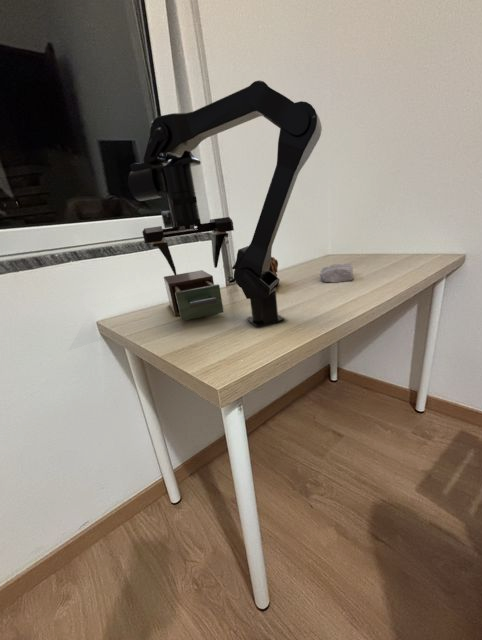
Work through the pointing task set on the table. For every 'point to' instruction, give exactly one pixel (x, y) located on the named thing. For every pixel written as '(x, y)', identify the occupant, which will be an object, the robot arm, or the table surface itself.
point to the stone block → (337, 273)
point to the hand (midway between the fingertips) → (195, 271)
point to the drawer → (198, 299)
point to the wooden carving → (273, 266)
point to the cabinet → (183, 279)
